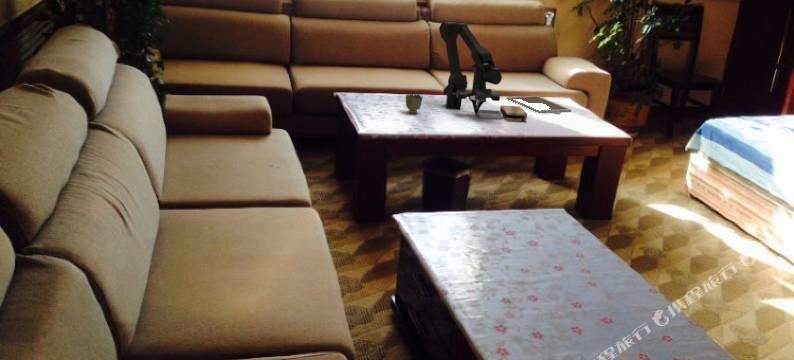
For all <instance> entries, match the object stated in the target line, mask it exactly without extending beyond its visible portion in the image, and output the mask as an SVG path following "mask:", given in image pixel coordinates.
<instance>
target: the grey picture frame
mask: <svg viewBox="0 0 794 360" xmlns="http://www.w3.org/2000/svg"><path fill="white" fill-rule="evenodd" d="M505 99H506V100H507V99H508V100H507V101H509V100H511V101H513V102H512V103H514V102H515V103H514V104H516V103H518V104H520V105H522V106H521V107H523V106H524V107H523V108H525V107H526V109H527V108H529V109H531V110H530V111H532V110H533V111H532V112H534V111H535V112H534V113H536V112H538V113H542V114H554V115H560V114H561V113H571V112H572V109H571V108H568V107H565V106H563V105H561V104H558V103H555V102H553V101H551V100H549V99H546V98H544V97H541V96H539V95H527V96H525V95H524V96H506V97H505ZM513 99H522V100H523V101H526V102H528V103H543V104H546V105H547V106H549V107H550V108H549V109H551V110H541V111H539V110H536V109H534V108H532V107H530V106H527V105H525V104H523V103H520V102H518V101H516V100H513ZM511 101H510V102H511ZM518 104H517V105H518ZM520 105H519V106H520ZM529 109H528V110H529ZM538 113H537V114H538Z"/></svg>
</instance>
